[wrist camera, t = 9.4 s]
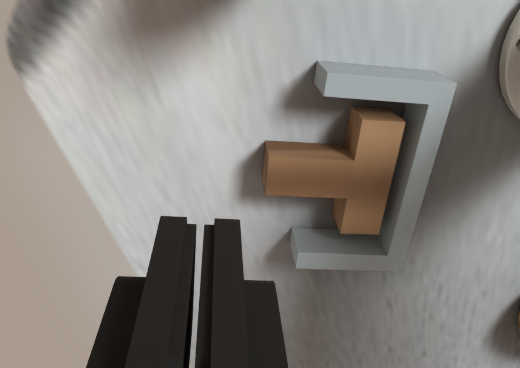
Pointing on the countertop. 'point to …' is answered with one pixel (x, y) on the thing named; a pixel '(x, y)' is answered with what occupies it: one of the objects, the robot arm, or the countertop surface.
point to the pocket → (405, 173)
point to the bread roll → (519, 321)
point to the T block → (341, 169)
